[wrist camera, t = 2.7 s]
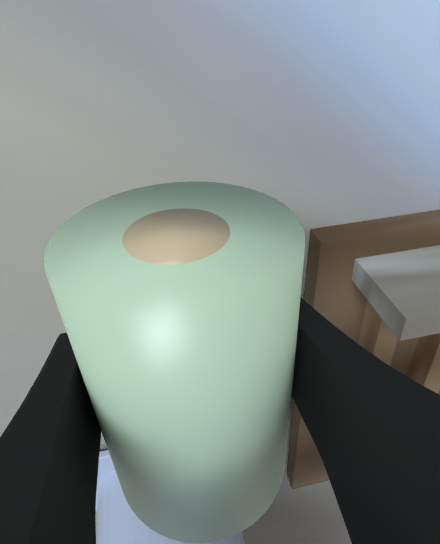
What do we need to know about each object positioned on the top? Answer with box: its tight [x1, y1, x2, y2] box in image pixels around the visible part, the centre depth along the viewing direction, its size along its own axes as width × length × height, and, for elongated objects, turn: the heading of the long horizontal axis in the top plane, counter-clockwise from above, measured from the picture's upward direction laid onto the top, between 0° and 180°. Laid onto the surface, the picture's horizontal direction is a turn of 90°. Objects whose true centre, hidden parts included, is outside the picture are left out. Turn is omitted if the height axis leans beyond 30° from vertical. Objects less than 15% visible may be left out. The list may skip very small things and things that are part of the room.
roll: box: [44, 182, 305, 543], centre depth 11 cm, size 8×5×5 cm, turn 2°
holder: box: [287, 210, 440, 489], centre depth 20 cm, size 18×9×4 cm, turn 2°
